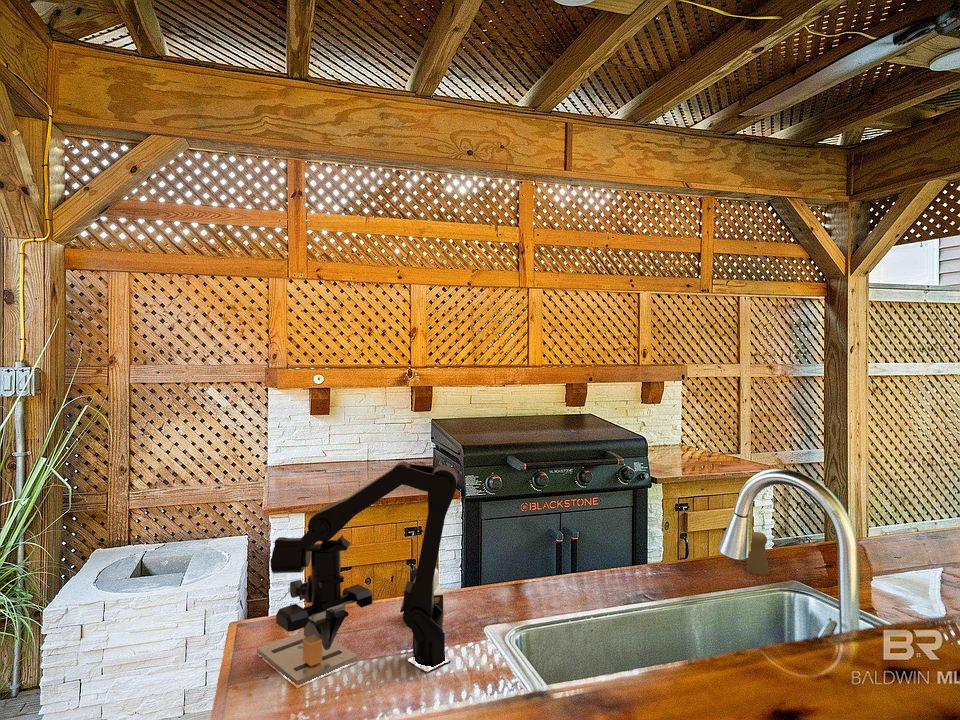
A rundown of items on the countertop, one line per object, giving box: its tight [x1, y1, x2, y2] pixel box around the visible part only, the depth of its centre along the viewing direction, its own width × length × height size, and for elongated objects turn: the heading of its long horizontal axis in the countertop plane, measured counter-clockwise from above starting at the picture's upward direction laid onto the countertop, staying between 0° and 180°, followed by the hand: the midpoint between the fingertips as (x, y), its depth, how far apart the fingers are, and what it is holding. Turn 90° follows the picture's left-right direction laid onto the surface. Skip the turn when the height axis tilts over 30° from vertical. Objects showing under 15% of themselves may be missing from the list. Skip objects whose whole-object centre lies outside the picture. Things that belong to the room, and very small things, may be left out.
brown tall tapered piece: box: [745, 531, 770, 576], centre depth 164 cm, size 6×6×11 cm
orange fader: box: [303, 634, 322, 666], centre depth 113 cm, size 3×2×4 cm
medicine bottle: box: [412, 567, 444, 621], centre depth 136 cm, size 7×7×12 cm
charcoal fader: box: [303, 622, 319, 637], centre depth 124 cm, size 3×2×4 cm
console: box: [256, 630, 359, 685], centre depth 118 cm, size 18×13×2 cm
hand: (326, 648), depth 116 cm, fingers closed
